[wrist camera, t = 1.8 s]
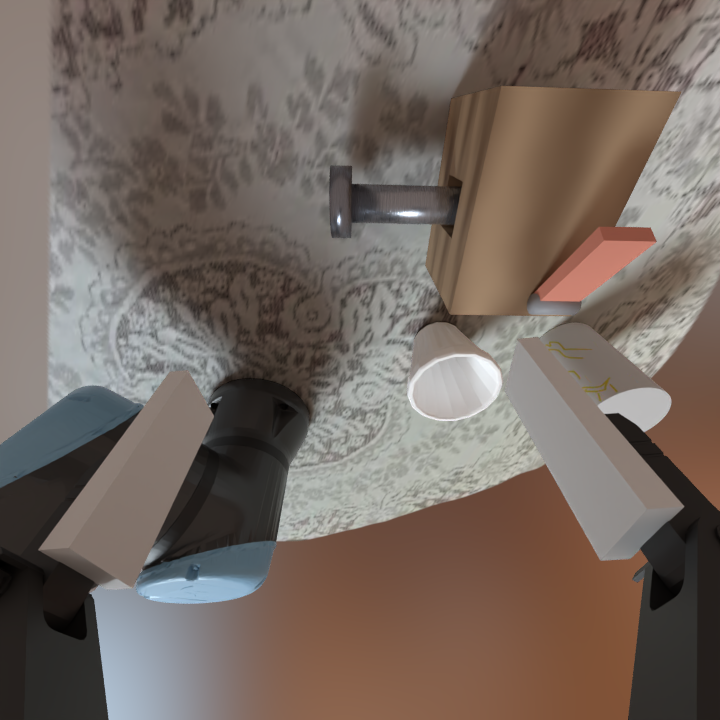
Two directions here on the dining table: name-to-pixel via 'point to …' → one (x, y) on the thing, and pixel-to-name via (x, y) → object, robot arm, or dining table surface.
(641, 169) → the block
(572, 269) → the keeper tab
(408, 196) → the hitch pin
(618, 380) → the cup
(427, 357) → the cup
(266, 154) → the dining table surface
